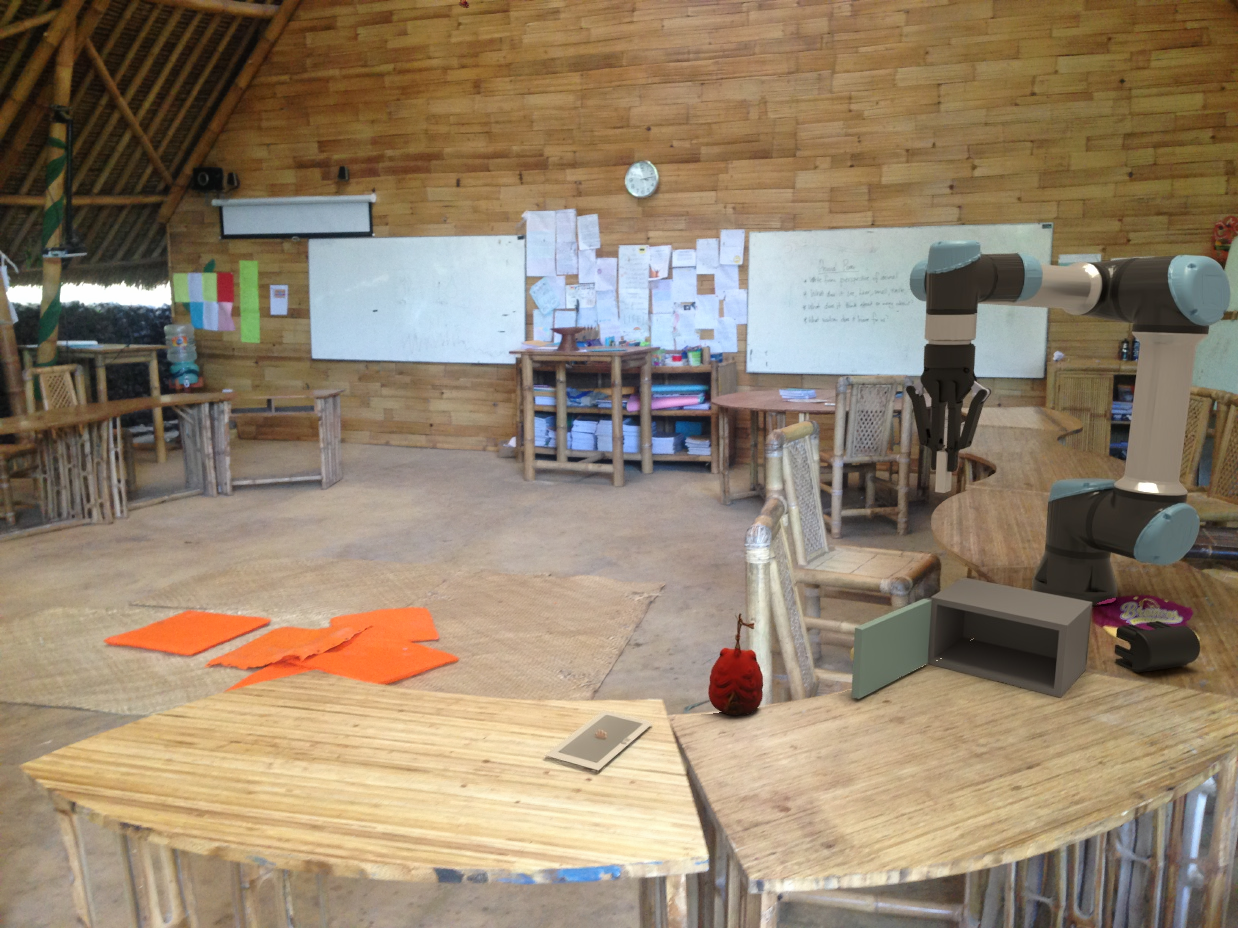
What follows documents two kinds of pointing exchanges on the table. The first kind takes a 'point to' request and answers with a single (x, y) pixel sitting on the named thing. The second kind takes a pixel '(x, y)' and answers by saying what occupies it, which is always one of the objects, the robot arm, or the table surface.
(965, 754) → the table surface
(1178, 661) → the end cap
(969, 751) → the table surface
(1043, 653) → the cabinet
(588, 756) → the touchpad
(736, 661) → the red clay folk toy
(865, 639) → the pale green rectangular block
